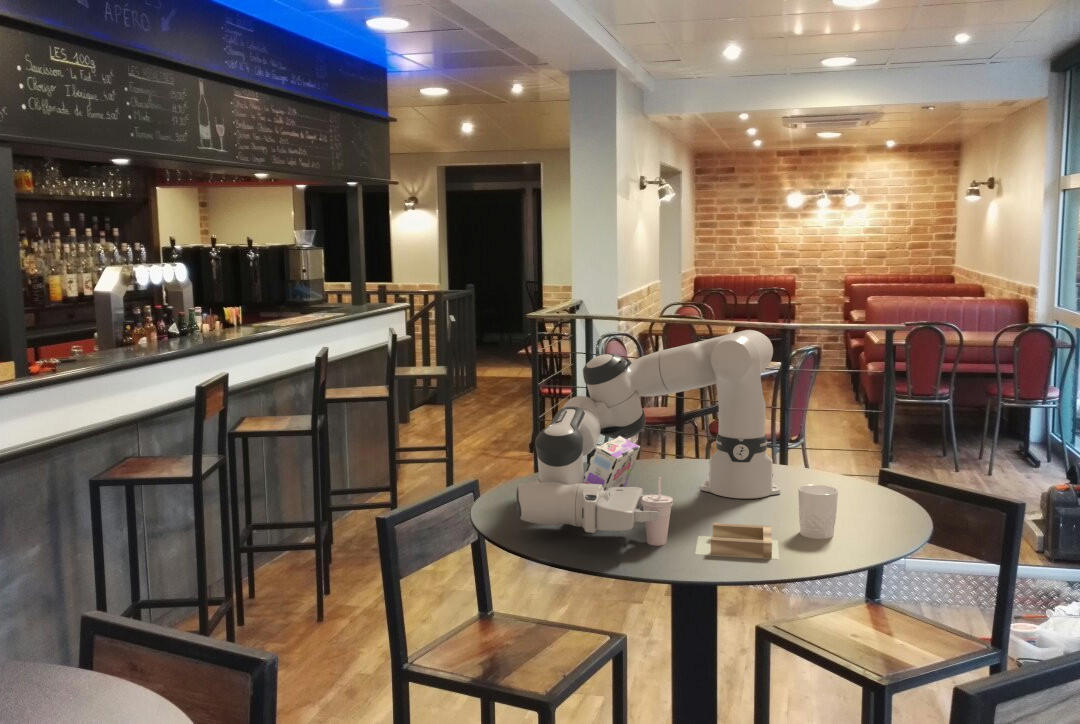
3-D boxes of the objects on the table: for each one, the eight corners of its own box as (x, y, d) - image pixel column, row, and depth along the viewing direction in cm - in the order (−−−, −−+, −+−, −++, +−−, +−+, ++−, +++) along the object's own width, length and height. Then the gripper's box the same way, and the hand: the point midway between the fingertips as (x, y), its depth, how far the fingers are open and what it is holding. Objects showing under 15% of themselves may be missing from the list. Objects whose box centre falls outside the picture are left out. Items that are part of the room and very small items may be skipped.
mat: (698, 538, 207) (698, 535, 207) (777, 542, 203) (777, 540, 203) (694, 556, 195) (694, 554, 195) (779, 561, 192) (779, 559, 192)
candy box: (592, 524, 217) (617, 458, 212) (569, 512, 219) (593, 445, 214) (618, 509, 229) (642, 445, 224) (596, 497, 231) (619, 434, 226)
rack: (713, 537, 206) (713, 522, 205) (770, 540, 203) (771, 525, 203) (710, 554, 194) (710, 539, 194) (771, 558, 192) (772, 543, 192)
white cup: (806, 528, 213) (808, 482, 212) (842, 535, 208) (844, 488, 207) (790, 537, 207) (791, 490, 206) (827, 544, 202) (828, 496, 201)
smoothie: (664, 551, 198) (665, 482, 196) (635, 546, 201) (635, 478, 200) (677, 543, 203) (678, 476, 202) (649, 538, 207) (649, 472, 205)
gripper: (600, 506, 215) (665, 510, 212) (585, 535, 195) (656, 539, 192) (600, 478, 214) (665, 481, 211) (585, 503, 194) (656, 507, 191)
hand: (661, 509), depth 201 cm, fingers open, 8 cm apart
